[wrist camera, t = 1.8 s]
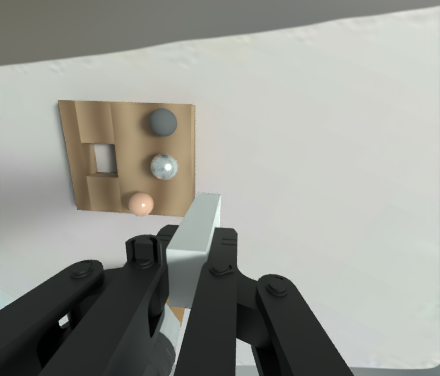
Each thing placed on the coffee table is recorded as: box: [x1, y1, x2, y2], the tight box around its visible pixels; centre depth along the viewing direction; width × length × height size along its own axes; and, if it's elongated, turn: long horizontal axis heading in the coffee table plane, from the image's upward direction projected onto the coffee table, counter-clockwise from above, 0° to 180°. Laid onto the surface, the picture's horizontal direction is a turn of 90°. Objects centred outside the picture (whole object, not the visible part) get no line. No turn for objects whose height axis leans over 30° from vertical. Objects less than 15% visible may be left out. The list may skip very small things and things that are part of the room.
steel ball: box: [151, 153, 179, 180], centre depth 27 cm, size 3×3×3 cm
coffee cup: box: [143, 298, 185, 376], centre depth 30 cm, size 8×8×15 cm
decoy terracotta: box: [128, 192, 154, 216], centre depth 29 cm, size 3×3×3 cm
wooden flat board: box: [58, 100, 195, 217], centre depth 31 cm, size 17×15×2 cm
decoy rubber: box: [149, 108, 177, 137], centre depth 26 cm, size 3×3×3 cm
